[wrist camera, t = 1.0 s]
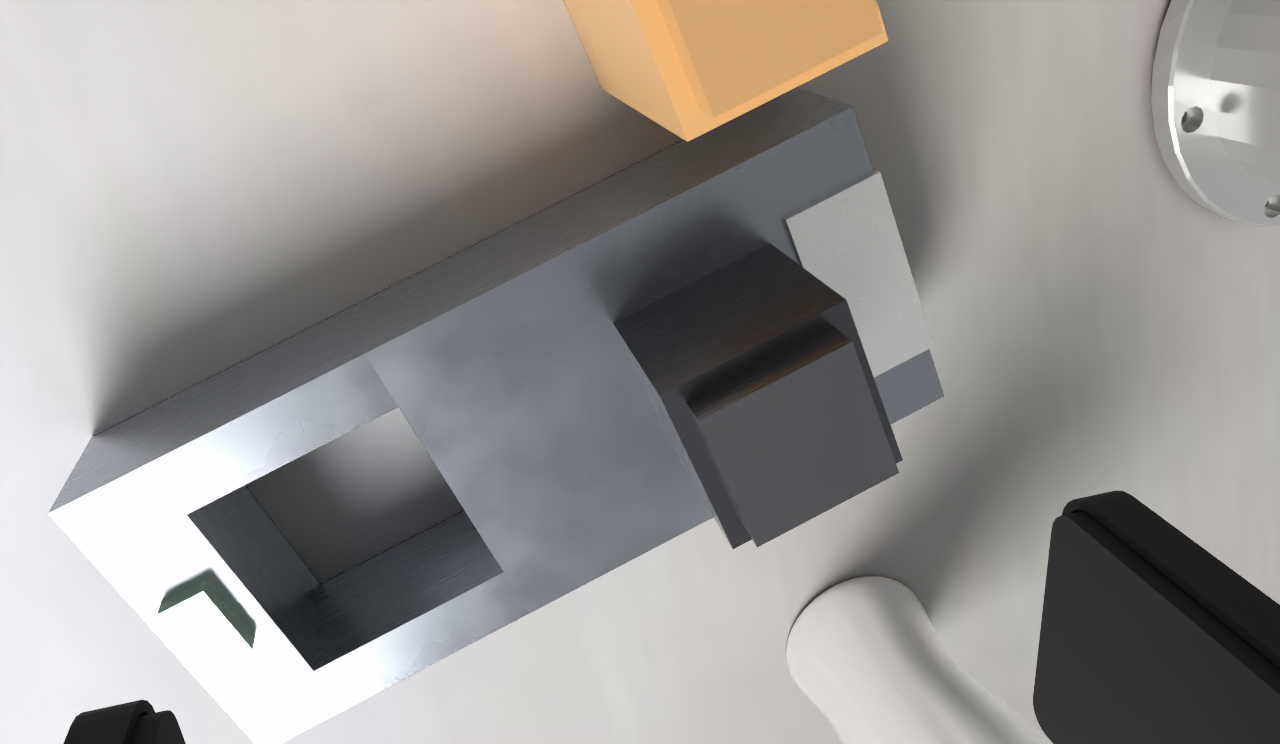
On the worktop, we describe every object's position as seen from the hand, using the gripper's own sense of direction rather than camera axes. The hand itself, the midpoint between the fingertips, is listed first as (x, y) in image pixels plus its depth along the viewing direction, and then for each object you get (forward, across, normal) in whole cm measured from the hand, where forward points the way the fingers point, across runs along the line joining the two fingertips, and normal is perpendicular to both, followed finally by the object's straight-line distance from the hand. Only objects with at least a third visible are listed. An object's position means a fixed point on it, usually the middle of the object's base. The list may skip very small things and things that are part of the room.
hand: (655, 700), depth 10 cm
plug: (+22, -6, -6) cm, 24 cm away
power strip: (+22, 0, +6) cm, 23 cm away
